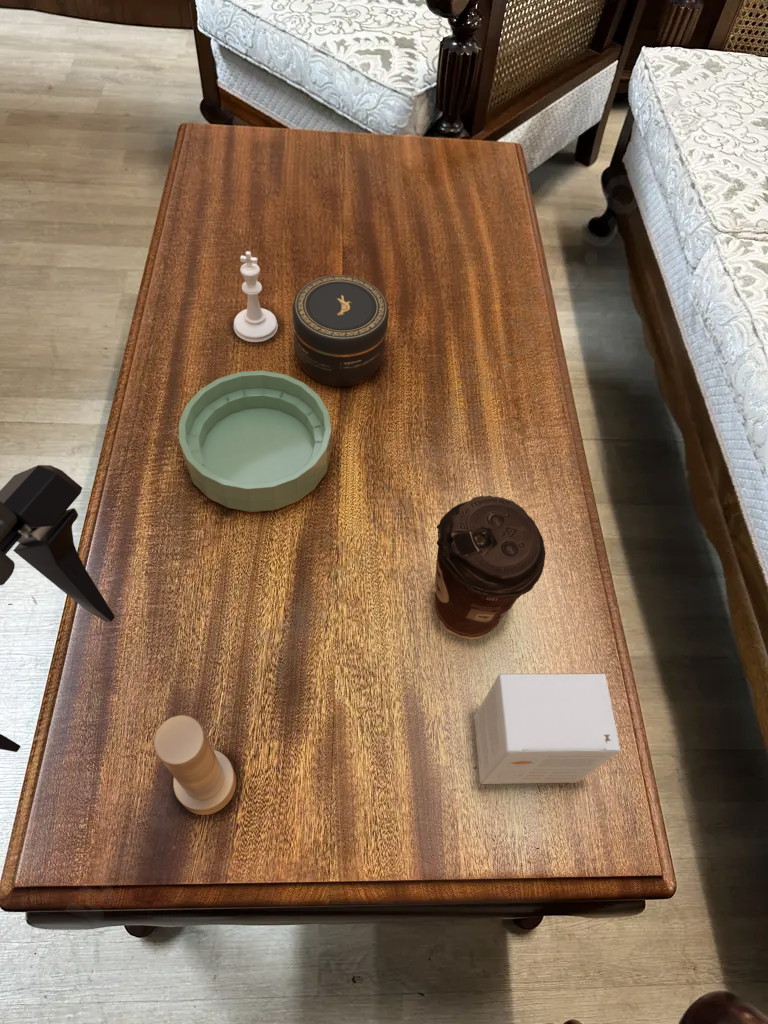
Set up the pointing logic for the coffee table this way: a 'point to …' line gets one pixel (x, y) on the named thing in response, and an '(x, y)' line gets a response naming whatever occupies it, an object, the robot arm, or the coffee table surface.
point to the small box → (545, 728)
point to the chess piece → (253, 307)
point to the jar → (339, 329)
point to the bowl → (256, 440)
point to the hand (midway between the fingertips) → (66, 680)
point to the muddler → (194, 766)
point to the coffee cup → (484, 564)
